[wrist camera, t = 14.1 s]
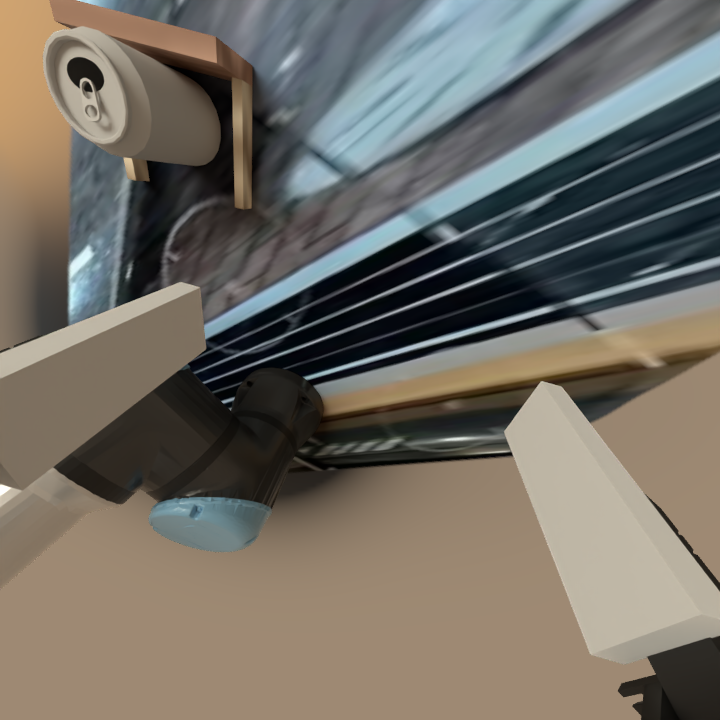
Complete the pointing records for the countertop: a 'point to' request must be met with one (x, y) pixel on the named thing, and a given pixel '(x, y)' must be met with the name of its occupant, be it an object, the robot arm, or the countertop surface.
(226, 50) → the wooden bracket
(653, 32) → the countertop surface
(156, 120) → the can
